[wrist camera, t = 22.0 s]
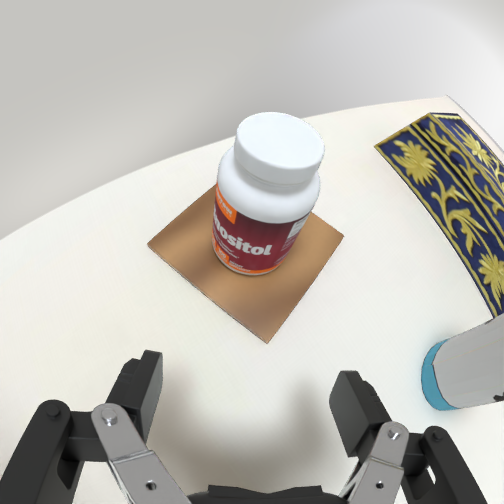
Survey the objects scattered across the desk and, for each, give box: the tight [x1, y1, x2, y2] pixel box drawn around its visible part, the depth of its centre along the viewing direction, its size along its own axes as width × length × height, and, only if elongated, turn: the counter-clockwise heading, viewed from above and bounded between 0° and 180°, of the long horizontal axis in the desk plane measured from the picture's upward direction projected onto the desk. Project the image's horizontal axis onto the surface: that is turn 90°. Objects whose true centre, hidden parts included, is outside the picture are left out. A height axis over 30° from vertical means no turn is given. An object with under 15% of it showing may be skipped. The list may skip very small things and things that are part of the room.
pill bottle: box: [212, 112, 325, 275], centre depth 19 cm, size 6×6×11 cm
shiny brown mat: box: [147, 185, 344, 343], centre depth 24 cm, size 12×12×1 cm
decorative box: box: [374, 113, 504, 318], centre depth 27 cm, size 11×30×9 cm, turn 28°
